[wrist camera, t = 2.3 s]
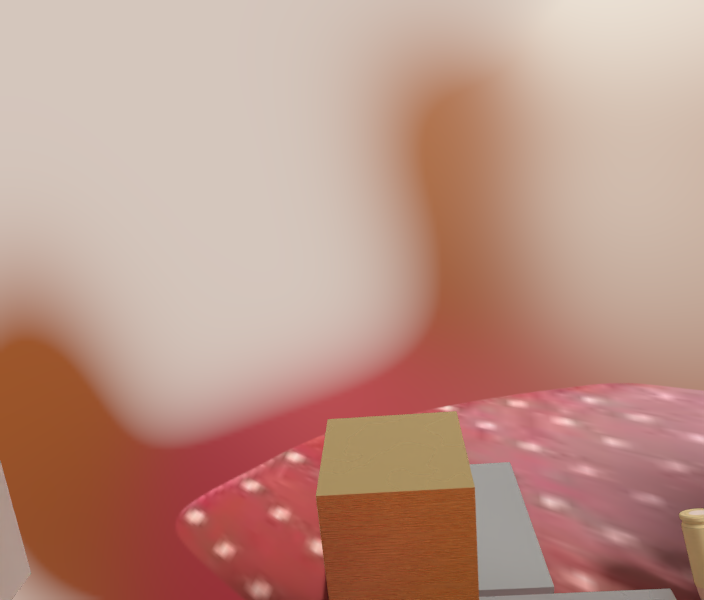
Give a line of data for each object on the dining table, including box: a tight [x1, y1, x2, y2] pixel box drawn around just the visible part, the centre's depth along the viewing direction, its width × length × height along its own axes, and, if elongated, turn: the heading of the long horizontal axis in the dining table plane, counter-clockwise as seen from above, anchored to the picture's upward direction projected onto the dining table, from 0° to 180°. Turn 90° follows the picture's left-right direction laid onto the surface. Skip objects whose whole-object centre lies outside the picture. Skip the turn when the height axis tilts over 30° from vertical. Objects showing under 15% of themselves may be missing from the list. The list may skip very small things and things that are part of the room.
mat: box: [470, 462, 554, 597], centre depth 37 cm, size 11×11×1 cm
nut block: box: [316, 411, 479, 600], centre depth 24 cm, size 5×5×12 cm
